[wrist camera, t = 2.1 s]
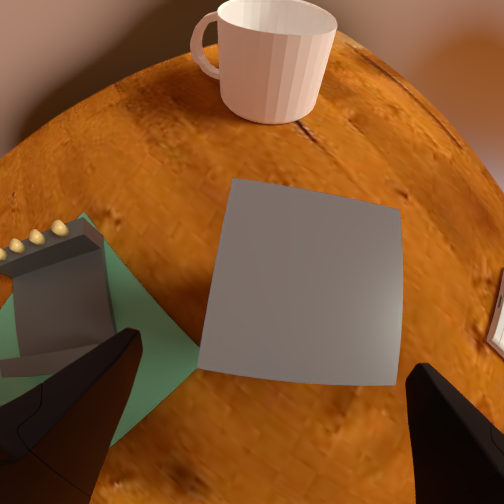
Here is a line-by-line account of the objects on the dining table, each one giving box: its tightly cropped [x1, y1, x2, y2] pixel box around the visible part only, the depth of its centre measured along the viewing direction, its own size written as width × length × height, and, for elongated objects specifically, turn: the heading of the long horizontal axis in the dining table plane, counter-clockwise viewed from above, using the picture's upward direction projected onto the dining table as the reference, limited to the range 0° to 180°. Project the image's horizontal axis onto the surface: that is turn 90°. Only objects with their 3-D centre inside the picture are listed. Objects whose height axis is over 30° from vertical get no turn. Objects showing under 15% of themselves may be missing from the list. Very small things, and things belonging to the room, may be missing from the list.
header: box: [0, 217, 117, 378], centre depth 14 cm, size 9×9×4 cm
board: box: [0, 212, 200, 448], centre depth 15 cm, size 18×14×1 cm
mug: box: [190, 0, 337, 124], centre depth 20 cm, size 12×9×9 cm
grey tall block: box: [197, 178, 403, 386], centre depth 12 cm, size 5×4×12 cm
